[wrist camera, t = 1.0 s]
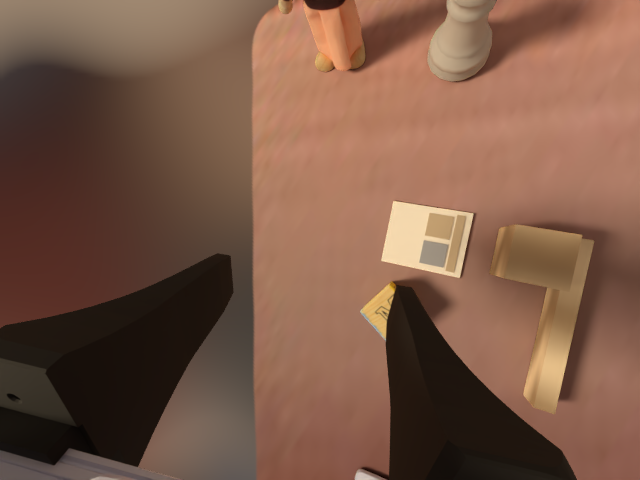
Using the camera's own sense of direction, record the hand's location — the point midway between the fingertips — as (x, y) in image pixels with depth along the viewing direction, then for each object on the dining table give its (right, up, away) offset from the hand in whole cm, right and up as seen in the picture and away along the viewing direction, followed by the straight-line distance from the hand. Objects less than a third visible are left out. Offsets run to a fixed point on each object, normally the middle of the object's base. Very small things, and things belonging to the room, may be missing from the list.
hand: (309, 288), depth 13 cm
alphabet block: (+6, -3, +12) cm, 14 cm away
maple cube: (+15, +1, +9) cm, 18 cm away
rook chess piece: (+11, +17, +11) cm, 23 cm away
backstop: (+17, -4, +8) cm, 19 cm away
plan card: (+9, +2, +11) cm, 14 cm away
